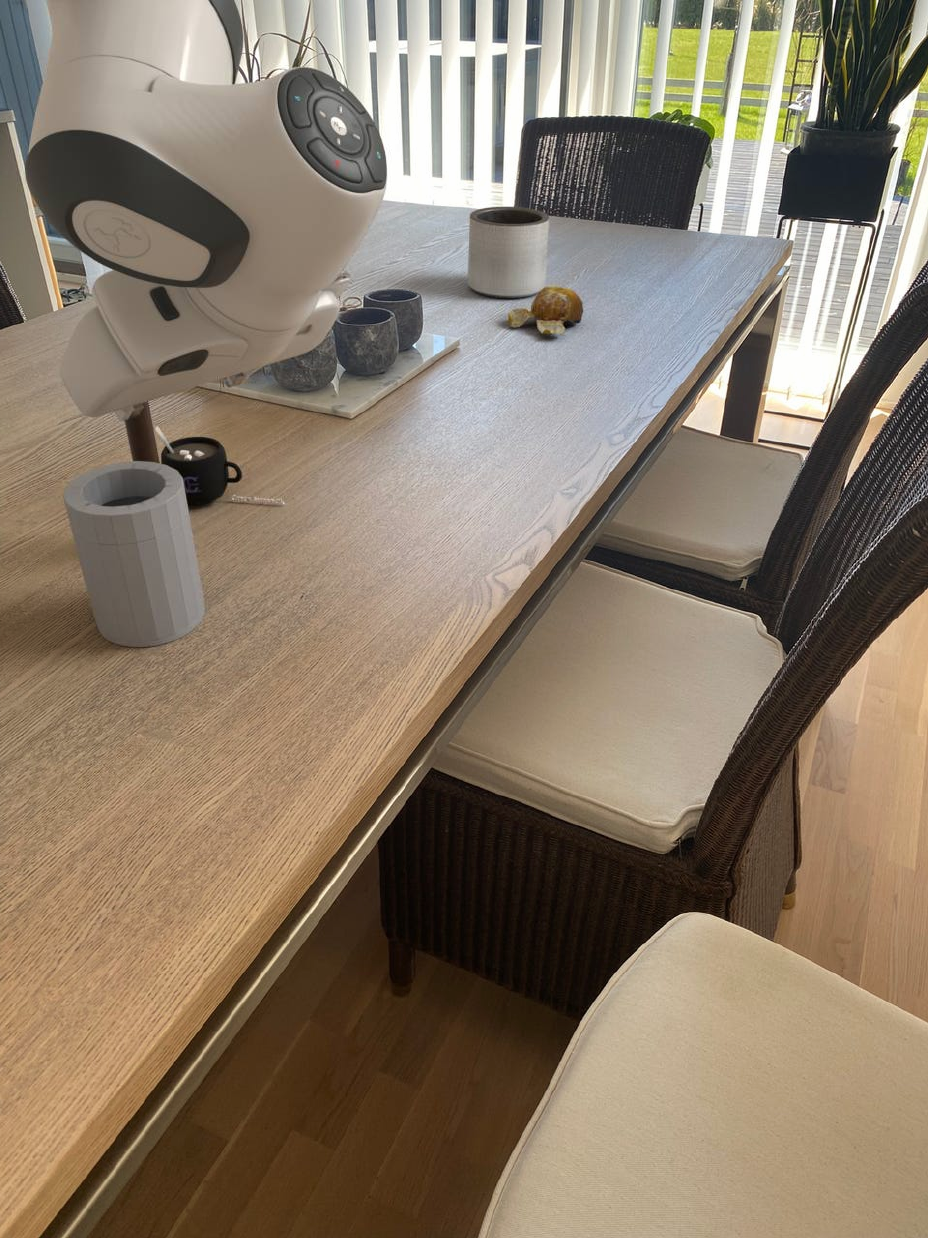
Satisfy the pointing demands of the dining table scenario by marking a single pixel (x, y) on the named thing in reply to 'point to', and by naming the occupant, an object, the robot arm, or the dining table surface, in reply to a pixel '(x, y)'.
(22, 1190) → the dining table surface
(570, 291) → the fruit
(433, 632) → the dining table surface
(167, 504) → the gray cylindrical container
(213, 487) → the mug
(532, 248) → the planter
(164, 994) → the dining table surface
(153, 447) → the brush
